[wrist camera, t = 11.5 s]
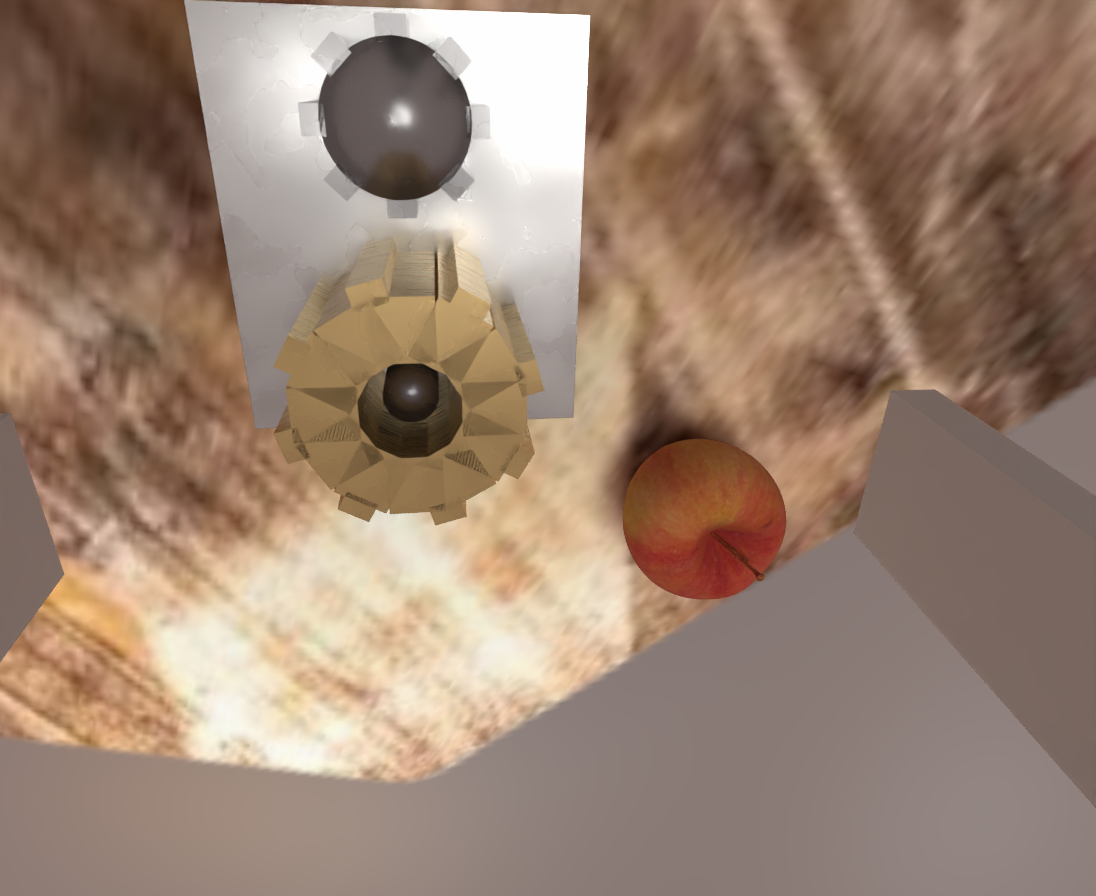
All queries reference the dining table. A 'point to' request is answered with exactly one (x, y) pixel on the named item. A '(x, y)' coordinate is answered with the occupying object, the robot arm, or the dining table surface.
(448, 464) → the gear
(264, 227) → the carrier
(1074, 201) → the dining table surface
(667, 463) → the apple
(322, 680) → the dining table surface
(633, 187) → the dining table surface
